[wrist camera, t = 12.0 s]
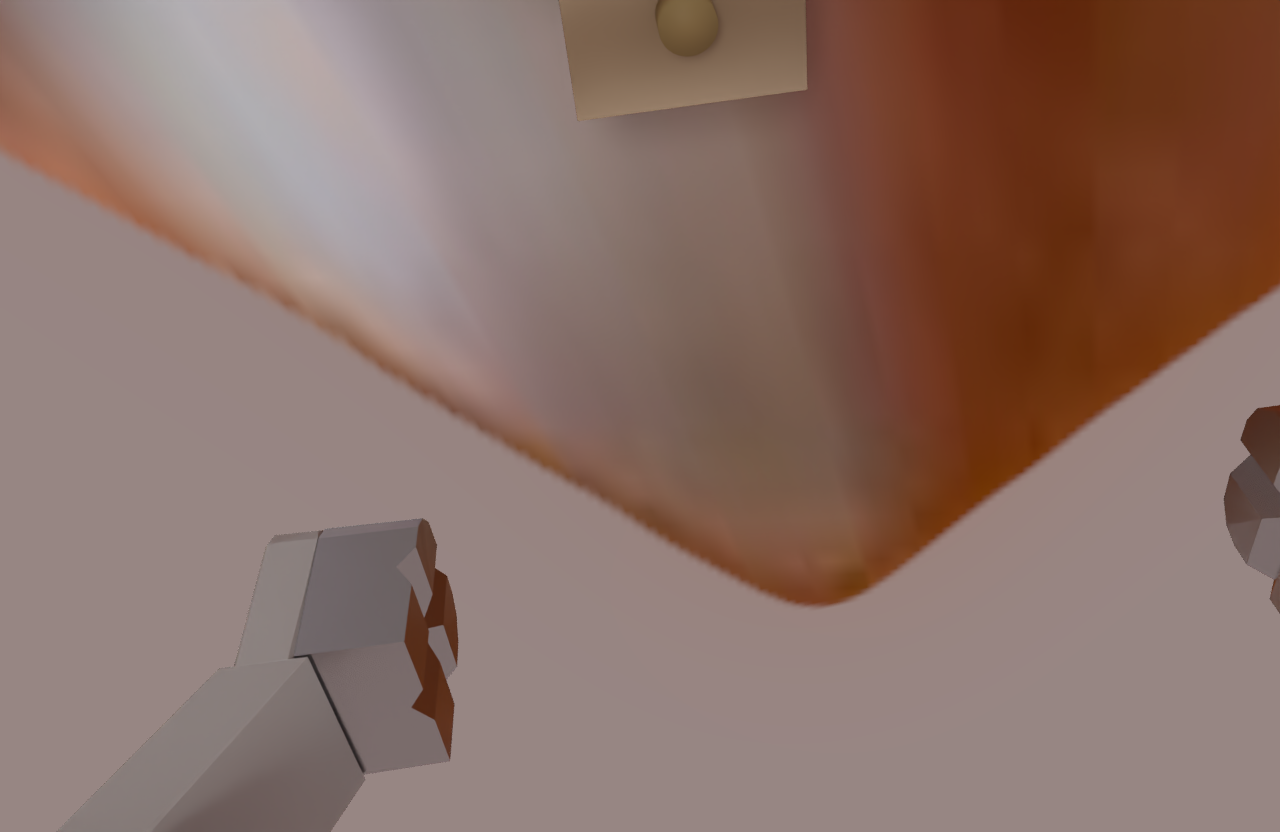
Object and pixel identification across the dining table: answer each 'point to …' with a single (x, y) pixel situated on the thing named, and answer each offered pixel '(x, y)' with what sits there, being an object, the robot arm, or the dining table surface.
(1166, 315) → the dining table surface
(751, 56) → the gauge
